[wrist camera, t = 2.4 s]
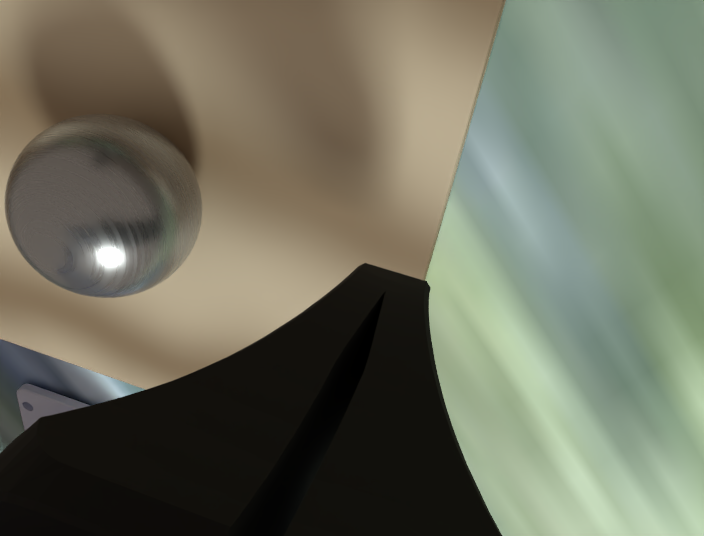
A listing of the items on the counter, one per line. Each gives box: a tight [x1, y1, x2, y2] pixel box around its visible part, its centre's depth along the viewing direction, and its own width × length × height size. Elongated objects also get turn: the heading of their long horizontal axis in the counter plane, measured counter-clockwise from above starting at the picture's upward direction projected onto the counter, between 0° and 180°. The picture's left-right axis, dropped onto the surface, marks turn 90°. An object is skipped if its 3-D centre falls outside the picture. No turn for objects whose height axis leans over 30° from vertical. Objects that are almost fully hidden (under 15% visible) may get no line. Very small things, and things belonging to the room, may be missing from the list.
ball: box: [5, 114, 202, 298], centre depth 13 cm, size 4×4×4 cm
